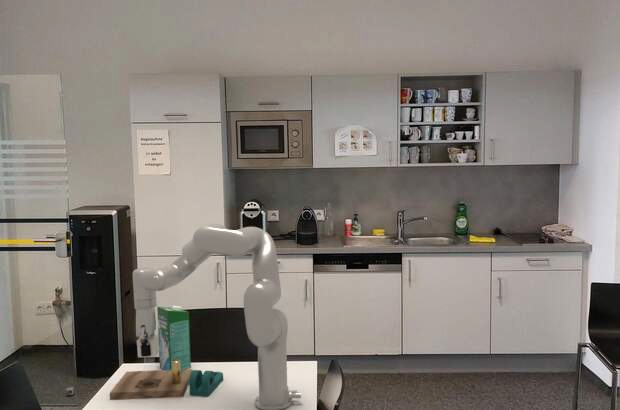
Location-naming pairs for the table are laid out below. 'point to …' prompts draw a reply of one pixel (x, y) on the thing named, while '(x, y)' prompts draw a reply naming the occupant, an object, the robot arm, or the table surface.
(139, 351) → the cream cube
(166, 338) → the milk carton
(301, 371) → the table surface
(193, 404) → the table surface
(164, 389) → the walnut board
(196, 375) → the bracket
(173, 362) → the brass pin
